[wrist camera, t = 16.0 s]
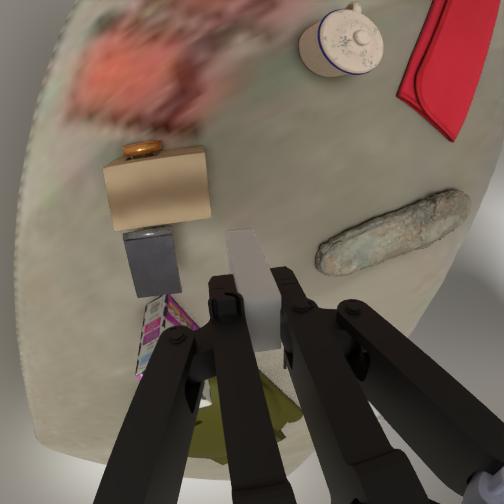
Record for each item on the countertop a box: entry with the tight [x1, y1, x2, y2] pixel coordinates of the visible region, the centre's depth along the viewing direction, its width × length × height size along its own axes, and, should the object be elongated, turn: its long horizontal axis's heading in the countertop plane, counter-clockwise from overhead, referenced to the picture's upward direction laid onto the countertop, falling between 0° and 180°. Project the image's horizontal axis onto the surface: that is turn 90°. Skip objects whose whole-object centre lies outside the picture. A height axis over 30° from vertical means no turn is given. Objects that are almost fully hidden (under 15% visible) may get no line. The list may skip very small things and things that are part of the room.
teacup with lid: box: [299, 2, 383, 77], centre depth 33 cm, size 12×9×12 cm
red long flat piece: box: [397, 0, 500, 142], centre depth 38 cm, size 16×41×4 cm, turn 155°
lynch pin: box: [122, 140, 164, 230], centre depth 41 cm, size 13×5×5 cm, turn 3°
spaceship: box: [188, 371, 303, 465], centre depth 61 cm, size 35×31×10 cm
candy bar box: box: [135, 294, 212, 410], centre depth 46 cm, size 11×5×16 cm, turn 31°
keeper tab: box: [123, 226, 182, 298], centre depth 39 cm, size 9×6×1 cm
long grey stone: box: [316, 189, 471, 276], centre depth 52 cm, size 35×5×10 cm
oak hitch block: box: [103, 146, 211, 231], centre depth 40 cm, size 8×12×8 cm, turn 93°
